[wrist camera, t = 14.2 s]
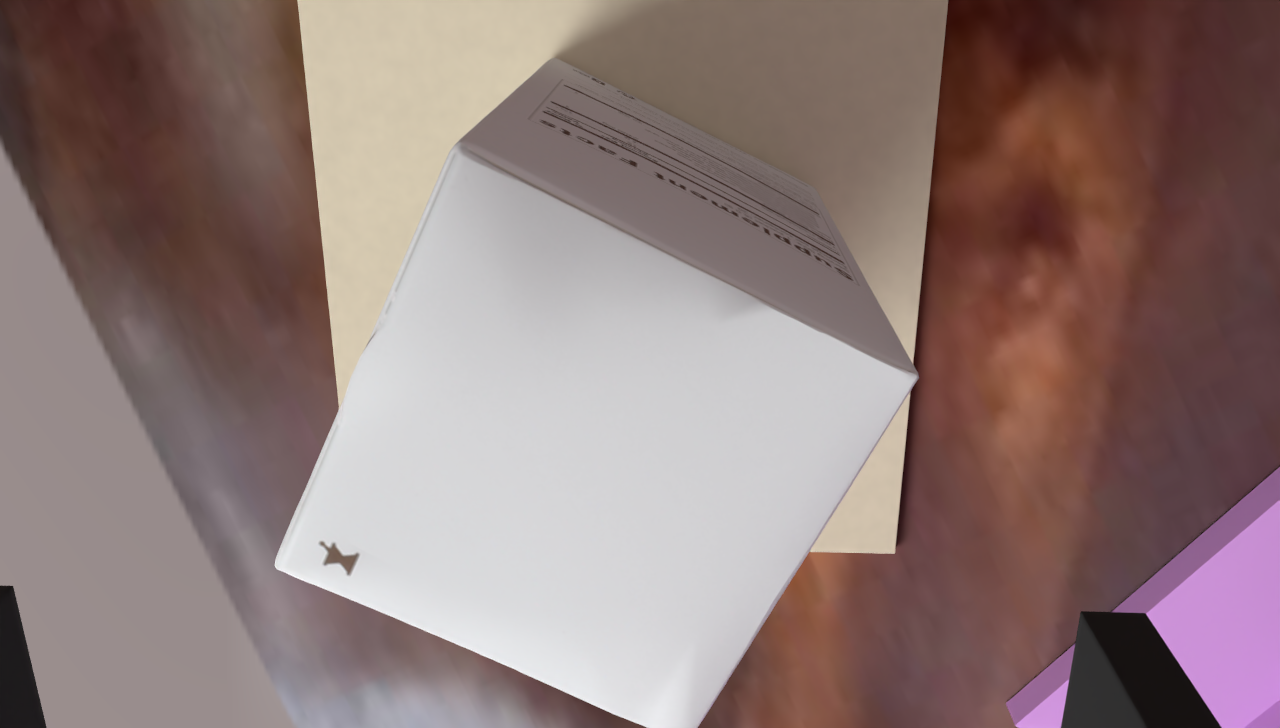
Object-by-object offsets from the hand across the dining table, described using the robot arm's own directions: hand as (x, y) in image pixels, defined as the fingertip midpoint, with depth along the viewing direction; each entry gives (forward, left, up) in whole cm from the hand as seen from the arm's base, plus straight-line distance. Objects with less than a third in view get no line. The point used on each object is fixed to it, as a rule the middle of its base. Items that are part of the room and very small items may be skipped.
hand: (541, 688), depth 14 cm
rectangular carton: (0, 0, -21) cm, 21 cm away
